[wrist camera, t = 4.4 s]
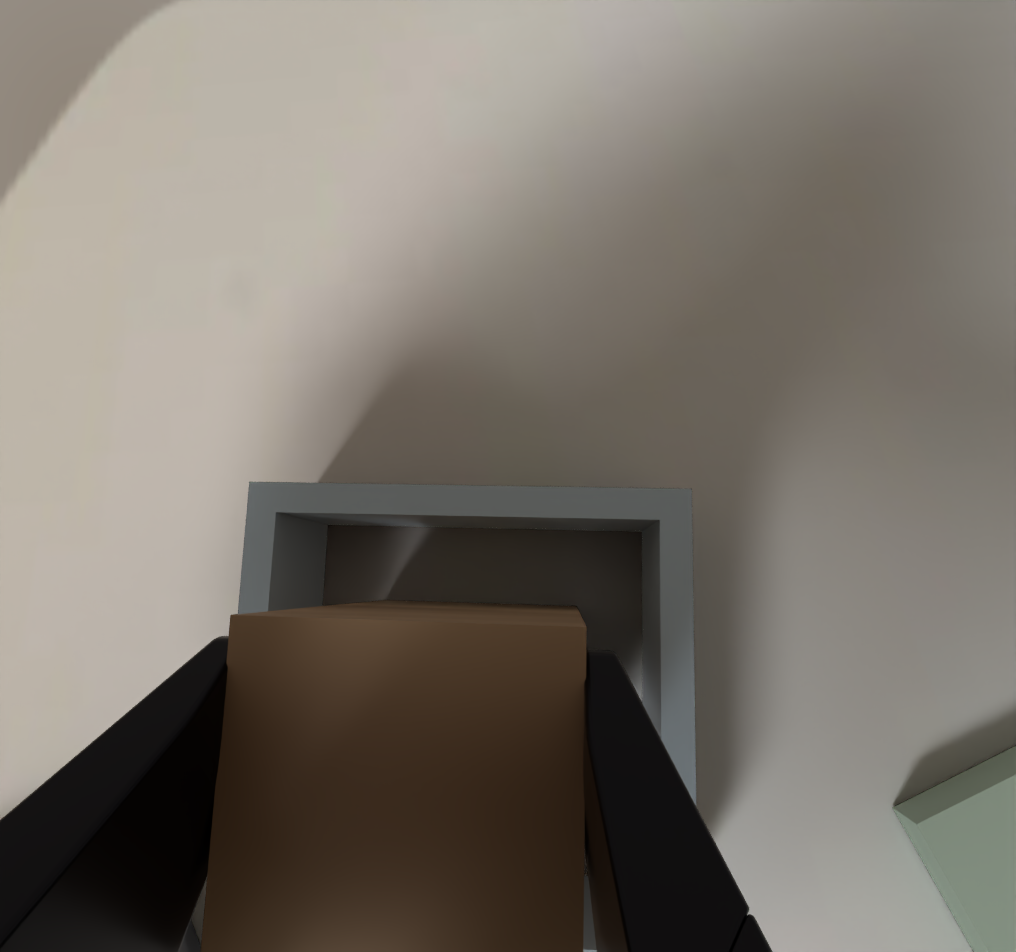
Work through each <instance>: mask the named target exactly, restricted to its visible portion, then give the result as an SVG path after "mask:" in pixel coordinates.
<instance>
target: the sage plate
mask: <svg viewBox="0 0 1016 952" xmlns="http://www.w3.org/2000/svg"><path fill="white" fill-rule="evenodd" d="M893 809H894V811H895V813H896V815H897V816H898V818H899V820H900V822H901V824H902V825H903V827H904V829H905V831H906V832H907V834H908V836H909V838H910V840H911V841H912V843H913V845H914V847H915V848H916V850H917V852H918V854H919V856H920V857H921V859H922V861H923V863H924V864H925V866H926V868H927V870H928V872H929V873H930V875H931V877H932V879H933V880H934V882H935V884H936V886H937V888H938V889H939V891H940V893H941V895H942V896H943V898H944V900H945V902H946V904H947V905H948V907H949V909H950V911H951V912H952V914H953V916H954V918H955V920H956V921H957V923H958V925H959V927H960V928H961V930H962V932H963V934H964V935H965V937H966V939H967V941H968V943H969V944H970V946H971V948H972V950H973V951H974V952H1016V746H1014V747H1012V748H1010V749H1008V750H1006V751H1004V752H1002V753H1000V754H998V755H996V756H994V757H992V758H990V759H988V760H986V761H984V762H982V763H980V764H978V765H976V766H975V767H973V768H971V769H969V770H967V771H965V772H963V773H961V774H959V775H957V776H955V777H953V778H951V779H949V780H947V781H945V782H943V783H941V784H939V785H937V786H935V787H933V788H931V789H929V790H927V791H925V792H923V793H921V794H919V795H917V796H915V797H913V798H911V799H909V800H907V801H905V802H903V803H901V804H899V805H897V806H895V807H893Z"/></svg>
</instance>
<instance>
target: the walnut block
mask: <svg viewBox="0 0 1016 952" xmlns="http://www.w3.org/2000/svg"><path fill="white" fill-rule="evenodd" d="M586 634H587V627H586V625H585V623H584V621H583V619H582V617H581V615H580V613H579V611H578V608H577V606H565V605H533V604H501V603H469V602H437V601H405V600H379V601H368V602H358V603H348V604H338V605H327V606H317V607H307V608H297V609H287V610H276V611H266V612H256V613H246V614H235V615H231V617H230V628H229V639H228V650H227V662H226V663H227V666H228V672H227V683H226V694H225V706H224V717H223V728H222V739H221V749H220V758H219V767H218V773H217V779H216V786H215V796H214V807H213V819H212V830H211V841H210V852H209V863H208V875H207V886H206V897H205V908H204V919H203V931H202V942H201V952H583V935H584V835H585V801H584V774H583V745H584V682H585V679H586Z"/></svg>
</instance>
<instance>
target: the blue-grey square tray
mask: <svg viewBox="0 0 1016 952" xmlns="http://www.w3.org/2000/svg"><path fill="white" fill-rule="evenodd" d="M328 525H360V526H407V527H454V528H501V529H548V530H595V531H642V703H643V705H644V707H645V709H646V711H647V713H648V715H649V717H650V719H651V721H652V723H653V725H654V726H655V728H656V730H657V732H658V734H659V736H660V738H661V740H662V742H663V744H664V746H665V748H666V749H667V751H668V753H669V755H670V757H671V759H672V761H673V763H674V765H675V767H676V769H677V771H678V772H679V774H680V776H681V778H682V780H683V782H684V784H685V786H686V788H687V790H688V792H689V794H690V795H691V797H692V799H693V801H694V803H695V805H696V750H695V679H694V609H693V539H692V489H674V488H610V487H547V486H484V485H420V484H357V483H294V482H249V492H248V503H247V514H246V526H245V537H244V549H243V560H242V572H241V583H240V595H239V606H238V614H246V613H256V612H266V611H276V610H287V609H297V608H307V607H317V606H323V592H324V577H325V562H326V548H327V533H328ZM583 952H597V949H596V940H595V931H594V923H593V914H592V905H591V897H590V888H589V880H588V876H584V935H583Z"/></svg>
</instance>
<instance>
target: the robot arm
mask: <svg viewBox="0 0 1016 952" xmlns="http://www.w3.org/2000/svg"><path fill="white" fill-rule="evenodd" d="M228 639H229V636H220V637H218V638H216V639H214V640H213V641H211V642H210V643H209V644H208V645H207V646H205V647H204V648H203V649H202V650H201V651H199V652H198V653H197V654H196V655H195V656H194V657H192V658H191V659H190V660H189V661H188V662H186V663H185V664H184V665H183V666H182V667H181V668H179V669H178V670H177V671H176V672H175V673H173V674H172V675H171V676H170V677H169V678H168V679H166V680H165V681H164V682H163V683H162V684H160V685H159V686H158V687H157V688H156V689H155V690H153V691H152V692H151V693H150V694H149V695H147V696H146V697H145V698H144V699H143V700H142V701H140V702H139V703H138V704H137V705H136V706H134V707H133V708H132V709H131V710H130V711H129V712H127V713H126V714H125V715H124V716H123V717H121V718H120V719H119V720H118V721H117V722H116V723H114V724H113V725H112V726H111V727H110V728H108V729H107V730H106V731H105V732H104V733H103V734H101V735H100V736H99V737H98V738H97V739H95V740H94V741H93V742H92V743H91V744H90V745H88V746H87V747H86V748H85V749H84V750H82V751H81V752H80V753H79V754H78V755H77V756H75V757H74V758H73V759H72V760H71V761H69V762H68V763H67V764H66V765H65V766H64V767H62V768H61V769H60V770H59V771H58V772H56V773H55V774H54V775H53V776H52V777H51V778H49V779H48V780H47V781H46V782H45V783H43V784H42V785H41V786H40V787H39V788H38V789H36V790H35V791H34V792H33V793H32V794H30V795H29V796H28V797H27V798H26V799H25V800H23V801H22V802H21V803H20V804H19V805H17V806H16V807H15V808H14V809H13V810H12V811H10V812H9V813H8V814H7V815H6V816H4V817H3V818H2V819H1V820H0V952H179V949H180V946H181V944H182V941H183V938H184V936H185V933H186V930H187V928H188V925H189V922H190V920H191V917H192V914H193V912H194V909H195V906H196V904H197V901H198V898H199V896H200V893H201V891H202V888H203V885H204V883H205V880H206V877H207V875H208V863H209V852H210V841H211V830H212V819H213V807H214V796H215V786H216V779H217V773H218V767H219V758H220V749H221V739H222V728H223V717H224V706H225V694H226V683H227V672H228V666H227V663H226V662H227V650H228ZM583 774H584V801H585V835H584V845H585V854H586V862H587V871H588V880H589V888H590V897H591V905H592V914H593V923H594V931H595V940H596V949H597V952H772V950H771V948H770V946H769V944H768V942H767V940H766V938H765V937H764V935H763V933H762V931H761V929H760V927H759V925H758V923H757V921H756V919H755V917H754V916H753V915H751V914H749V915H747V914H748V912H749V907H748V905H747V903H746V901H745V899H744V897H743V895H742V893H741V891H740V889H739V887H738V885H737V884H736V882H735V880H734V878H733V876H732V874H731V872H730V870H729V868H728V866H727V864H726V862H725V861H724V859H723V857H722V855H721V853H720V851H719V849H718V847H717V845H716V843H715V841H714V839H713V838H712V836H711V834H710V832H709V830H708V828H707V826H706V824H705V822H704V820H703V818H702V817H701V815H700V813H699V811H698V809H697V807H696V805H695V803H694V801H693V799H692V797H691V795H690V794H689V792H688V790H687V788H686V786H685V784H684V782H683V780H682V778H681V776H680V774H679V772H678V771H677V769H676V767H675V765H674V763H673V761H672V759H671V757H670V755H669V753H668V751H667V749H666V748H665V746H664V744H663V742H662V740H661V738H660V736H659V734H658V732H657V730H656V728H655V726H654V725H653V723H652V721H651V719H650V717H649V715H648V713H647V711H646V709H645V707H644V705H643V703H642V702H641V700H640V698H639V696H638V694H637V692H636V690H635V688H634V686H633V684H632V682H631V680H630V679H629V677H628V675H627V673H626V671H625V669H624V667H623V665H622V663H621V661H620V659H619V658H618V656H617V655H616V653H615V652H613V651H611V650H586V679H585V682H584V745H583Z"/></svg>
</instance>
